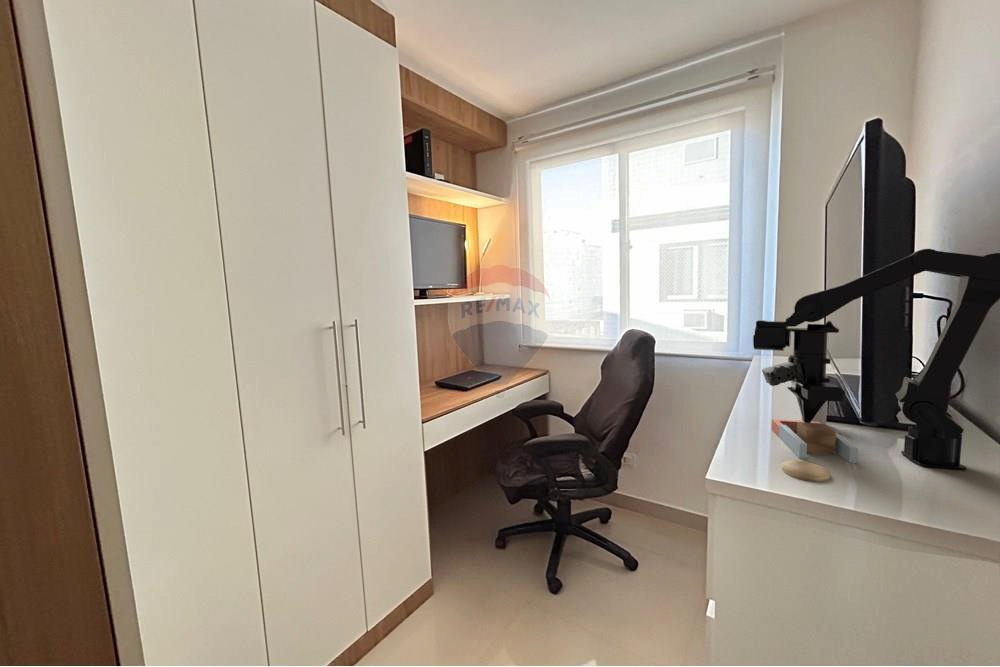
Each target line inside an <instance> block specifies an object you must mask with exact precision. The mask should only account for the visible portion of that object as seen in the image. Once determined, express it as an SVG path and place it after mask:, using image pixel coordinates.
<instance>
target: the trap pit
mask: <svg viewBox="0 0 1000 667" xmlns="http://www.w3.org/2000/svg"><path fill="white" fill-rule="evenodd" d="M797 422H804V421H802V420H795V419H793V420H791V419H779V418H778V419H775V418H773V419H772V418H771V431H773V432H774V434H775V435H777V437H778V438H779V427H780V425H786V426H788V427H789V428H790V429H791V430H792V431H793V432H794V433H795V434H796V435H797ZM810 423H820V422H810Z"/></svg>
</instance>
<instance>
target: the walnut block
mask: <svg viewBox="0 0 1000 667" xmlns="http://www.w3.org/2000/svg"><path fill="white" fill-rule="evenodd" d="M836 433H837V431H836V430H835V429H833V428H832V427H830V426H829V425H828V424H827V423H826V424H821V423H805V422H797V436H798V437H800V438H801V439H802V440H803V441H804V442H805V443H806V444H807V454H813V455H815V454H817V455H828V456H829V455H830V456H836V455H835V454H836V451H835V442H836Z"/></svg>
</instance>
